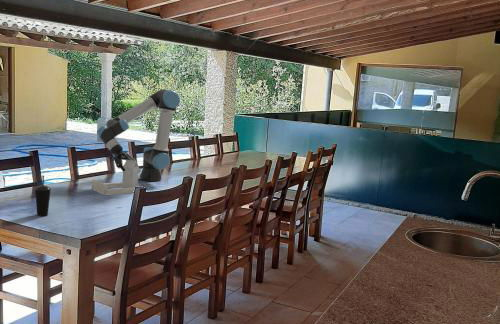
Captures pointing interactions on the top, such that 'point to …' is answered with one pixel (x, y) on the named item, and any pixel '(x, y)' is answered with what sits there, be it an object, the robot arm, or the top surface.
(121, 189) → the bay
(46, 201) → the drinking cup
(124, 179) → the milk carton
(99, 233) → the top surface
